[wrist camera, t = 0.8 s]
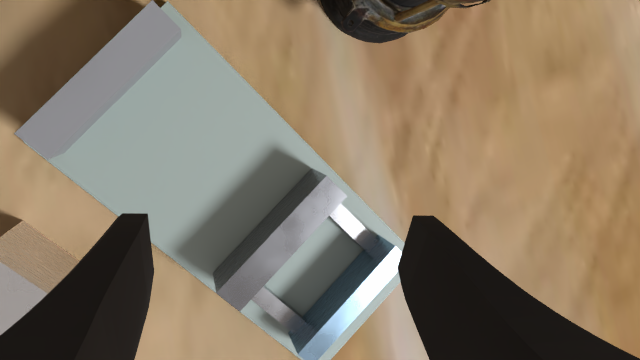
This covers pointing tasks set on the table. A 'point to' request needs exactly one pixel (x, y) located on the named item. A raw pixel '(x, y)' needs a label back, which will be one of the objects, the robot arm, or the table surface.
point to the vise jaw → (283, 241)
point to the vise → (195, 160)
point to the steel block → (28, 271)
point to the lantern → (387, 16)
